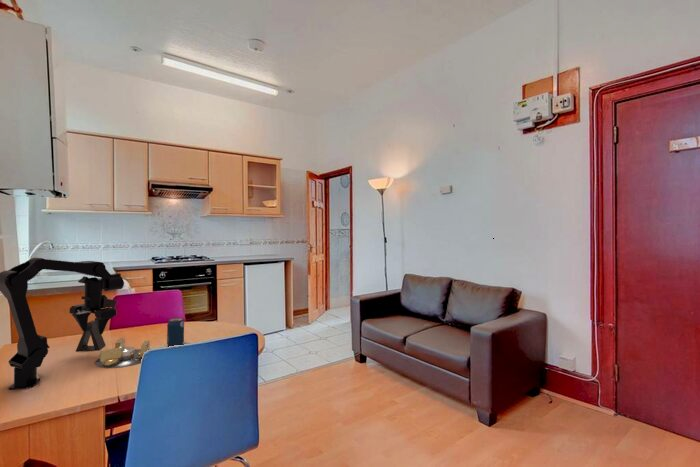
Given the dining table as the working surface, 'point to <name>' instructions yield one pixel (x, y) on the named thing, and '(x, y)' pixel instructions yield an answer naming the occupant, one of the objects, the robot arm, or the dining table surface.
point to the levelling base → (123, 363)
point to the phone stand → (96, 339)
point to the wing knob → (110, 357)
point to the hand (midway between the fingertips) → (92, 332)
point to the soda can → (175, 332)
